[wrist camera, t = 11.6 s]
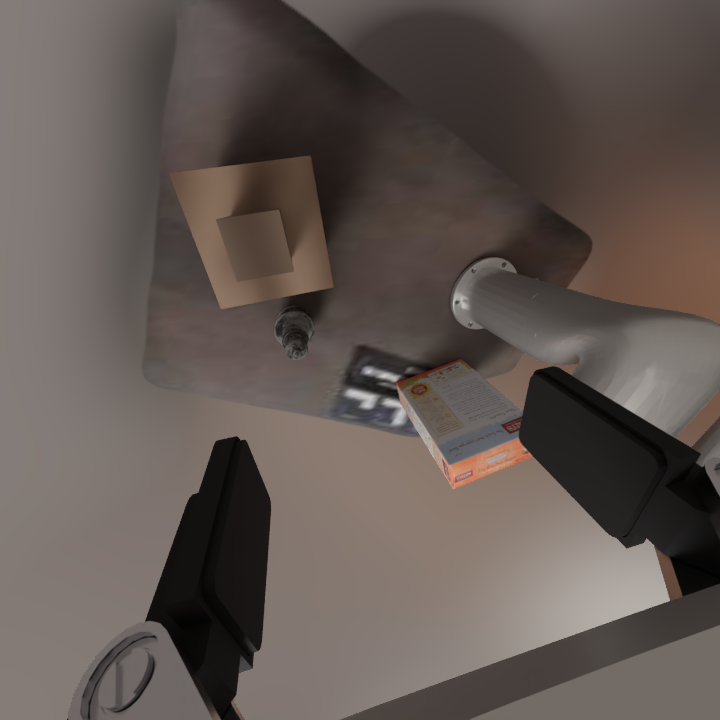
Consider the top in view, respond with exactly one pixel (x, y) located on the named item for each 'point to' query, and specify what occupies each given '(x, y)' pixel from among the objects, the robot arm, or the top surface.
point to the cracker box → (463, 421)
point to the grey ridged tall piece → (294, 331)
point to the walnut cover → (257, 229)
